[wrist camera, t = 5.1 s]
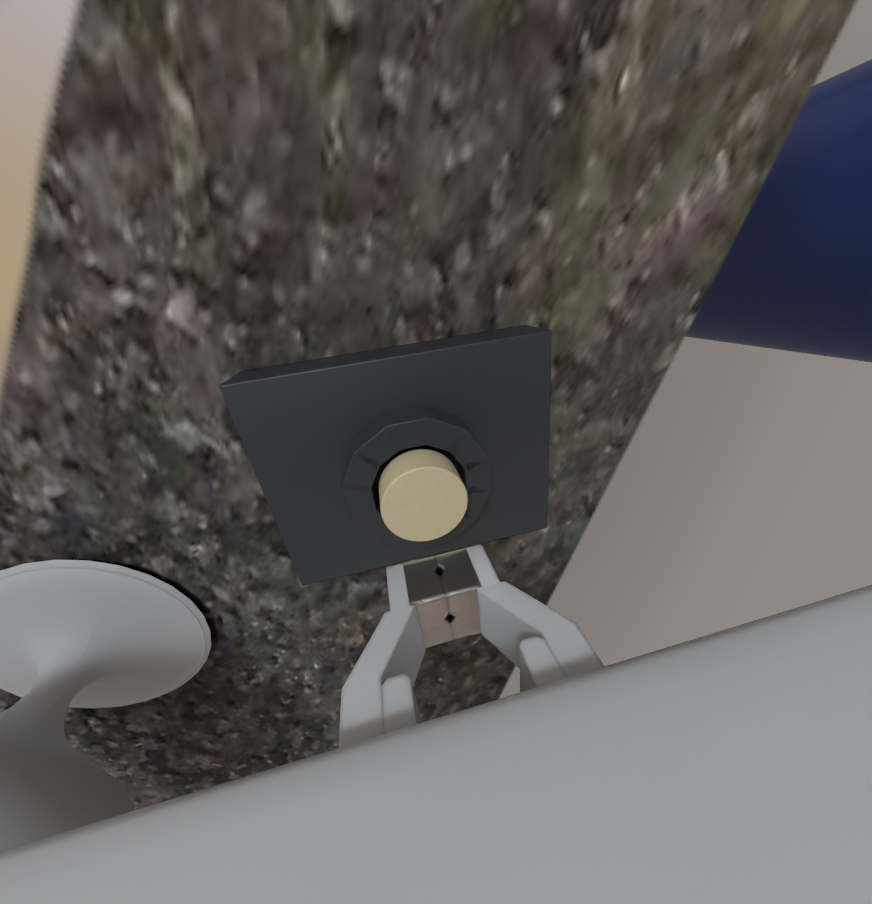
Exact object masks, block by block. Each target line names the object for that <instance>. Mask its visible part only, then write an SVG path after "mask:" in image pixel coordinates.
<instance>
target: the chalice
mask: <svg viewBox="0 0 872 904" xmlns="http://www.w3.org/2000/svg"><path fill="white" fill-rule="evenodd" d="M210 648H211V634H210V629H209V626H208V624H207V622H206V620H205V617H204V615H203V614H202V613H201V611H200V610H199V609H198V608H197V607H196V606H195V604H194V603H193V602H192V601H191V600H190V599H189V598H187V597H186V596H185V595H183V594H182V593H181V592H179V591H178V590H177V589H175V588H174V587H173V586H171V585H169V584H167V583H165V582H163V581H161V580H159V579H157V578H155V577H153V576H151V575H149V574H146V573H142V572H139V571H136V570H133V569H130V568H127V567H123V566H120V565H114V564H108V563H102V562H96V561H89V560H49V561H41V562H33V563H25V564H21V565H18V566H15V567H11V568H8V569H5V570H1V571H0V688H1V689H3V690H5V691H8V692H10V693H12V694H14V695H17V696H20V697H23V698H22V699H21V700H19V701H18V702H17V703H16V704H15V705H13V706H12V707H11V708H9V709H7V710H5V711H3V712H2V713H0V851H3V850H7V849H10V848H13V847H16V846H20V845H23V844H26V843H30V842H33V841H36V840H39V839H43V838H46V837H49V836H52V835H56V834H59V833H62V832H66V831H69V830H72V829H75V828H79V827H82V826H85V825H88V824H92V823H95V822H98V821H102V820H105V819H108V818H111V817H115V816H118V815H121V814H124V813H128V812H131V811H134V810H135V806H134V803H133V802H132V801H131V799H130V798H129V797H128V795H127V794H126V793H125V791H124V790H123V789H122V787H121V786H120V785H119V783H118V782H117V781H116V780H115V778H114V777H113V776H112V775H110V774H109V773H107V772H106V771H105V770H103V769H102V768H101V767H99V766H98V765H97V764H95V763H94V762H93V761H91V760H90V759H89V758H87V757H86V756H84V755H82V754H81V753H79V752H78V751H77V750H75V749H74V748H72V747H71V746H70V745H69V744H68V741H67V739H66V737H65V735H64V717H65V714H66V712H67V709H68V707H73V708H107V707H120V706H125V705H130V704H135V703H141V702H144V701H147V700H150V699H153V698H156V697H159V696H162V695H164V694H167V693H169V692H170V691H172V690H174V689H176V688H178V687H180V686H182V685H184V684H185V683H186V682H187V681H189V680H190V679H191V678H192V677H193V676H195V675H196V674H197V673H198V672H199V670H200V669H201V668H202V666H203V665H204V663H205V662H206V661H207V658H208V655H209V651H210Z"/></svg>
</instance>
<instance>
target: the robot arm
mask: <svg viewBox="0 0 872 904" xmlns="http://www.w3.org/2000/svg"><path fill="white" fill-rule="evenodd" d="M403 564H404V565H403ZM386 573H387V583H388V593H389V604H390V611H388V612H385V614H384V615H383V617H382V619H381V621H380V622H379V624H378V626H377V628H376V629H375V631H374V633H373V635H372V637H371V638H370V640H369V642H368V644H367V645H366V647H365V649H364V651H363V652H362V654H361V656H360V658H359V660H358V661H357V663H356V665H355V667H354V668H353V670H352V672H351V674H350V675H349V677H348V679H347V681H346V683H345V684H344V686H343V688H342V692H341V712H340V732H339V748H337V749H334V750H331V751H327V752H324V753H321V754H318V755H314V756H311V757H308V758H305V759H301V760H298V761H295V762H291V763H288V764H285V765H282V766H278V767H275V768H272V769H269V770H265V771H262V772H259V773H255V774H252V775H249V776H246V777H242V778H239V779H236V780H233V781H229V782H226V783H223V784H220V785H216V786H213V787H210V788H206V789H203V790H200V791H197V792H193V793H190V794H187V795H183V796H180V797H177V798H174V799H170V800H167V801H164V802H161V803H157V804H154V805H151V806H147V807H144V808H141V809H138V810H134V811H131V812H128V813H124V814H121V815H118V816H115V817H111V818H108V819H105V820H102V821H98V822H95V823H92V824H88V825H85V826H82V827H79V828H75V829H72V830H69V831H66V832H62V833H59V834H56V835H52V836H49V837H46V838H43V839H39V840H36V841H33V842H30V843H26V844H23V845H20V846H16V847H13V848H10V849H7V850H3V851H0V904H872V585H870V586H867V587H863V588H860V589H857V590H853V591H850V592H847V593H844V594H840V595H837V596H834V597H831V598H828V599H824V600H821V601H818V602H814V603H811V604H808V605H805V606H801V607H798V608H795V609H792V610H788V611H785V612H782V613H778V614H775V615H772V616H769V617H765V618H762V619H759V620H755V621H752V622H749V623H746V624H742V625H739V626H736V627H733V628H729V629H726V630H723V631H720V632H716V633H713V634H710V635H706V636H703V637H700V638H697V639H693V640H691V641H687V642H684V643H680V644H677V645H674V646H671V647H667V648H664V649H661V650H657V651H654V652H651V653H648V654H644V655H641V656H638V657H635V658H631V659H628V660H625V661H621V662H618V663H615V664H612V665H608V666H605V667H604V665H603V664H602V662H601V661H600V659H599V658H598V656H597V654H596V653H595V651H594V650H593V648H592V647H591V645H590V644H589V642H588V641H587V639H586V638H585V636H584V635H583V633H582V632H581V630H580V629H579V627H578V625H577V624H576V623H575V622H573V621H571V620H570V619H568V618H566V617H565V616H563V615H561V614H560V613H558V612H556V611H554V610H553V609H551V608H549V607H548V606H546V605H544V604H543V603H541V602H539V601H538V600H536V599H534V598H533V597H531V596H529V595H528V594H526V593H524V592H523V591H521V590H519V589H517V588H516V587H514V586H512V585H511V584H509V583H507V582H506V581H503V582H500V581H499V579H498V577H497V575H496V573H495V571H494V568H493V566H492V564H491V562H490V560H489V558H488V556H487V554H486V552H485V550H484V548H483V546H482V545H481V544H478V545H474V546H471V547H467V548H465V549H464V548H463V549H460V550H456V551H452V552H448V553H444V554H440V555H436V556H432V557H428V558H423V559H418V560H414V561H409V562H405V563H402V564H397V565H393V566H388V567H387V570H386ZM479 633H482V635H483V636H484V637H485V638H486V639H487V640H488V641H490V642H491V643H492V644H493V645H494V646H495V647H496V648H497V649H498V650H499V651H501V652H502V653H503V654H504V655H505V656H506V657H507V658H508V659H509V660H511V661H512V662H513V663H514V664H515V665H516V666H517V667H518V668H519V669H520V693H517V694H514V695H511V696H508V697H504V698H501V699H498V700H494V701H491V702H488V703H484V704H481V705H478V706H475V707H471V708H468V709H465V710H462V711H458V712H455V713H452V714H448V715H445V716H442V717H439V718H435V719H432V720H429V721H426V722H422V721H421V717H420V713H419V709H418V706H417V702H416V698H415V694H414V690H413V686H414V683H415V680H416V677H417V674H418V671H419V668H420V665H421V662H422V659H423V656H424V653H425V648H428V647H431V646H435V645H438V644H441V643H444V642H448V641H451V640H454V639H458V638H462V637H466V636H470V635H474V634H479Z"/></svg>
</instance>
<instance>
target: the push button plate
mask: <svg viewBox="0 0 872 904" xmlns="http://www.w3.org/2000/svg"><path fill="white" fill-rule="evenodd" d="M550 375H551V330H547V329H542V328H537V327H532V326H527V325H523V326H517V327H511V328H505V329H498V330H492V331H486V332H480V333H474V334H468V335H462V336H455V337H449V338H443V339H437V340H431V341H425V342H419V343H412V344H406V345H400V346H394V347H388V348H382V349H376V350H370V351H363V352H357V353H351V354H345V355H339V356H333V357H327V358H320V359H314V360H308V361H302V362H296V363H290V364H284V365H278V366H271V367H265V368H259V369H253V370H247V371H241V372H239V373H238V374H236V375H235V376H233V377H232V378H230V379H229V380H227V381H226V382H224V383H223V384H221V385H220V386H219V388H220V390H221V392H222V395H223V397H224V400H225V402H226V404H227V407H228V409H229V412H230V414H231V416H232V419H233V421H234V423H235V426H236V428H237V431H238V433H239V435H240V438H241V440H242V442H243V445H244V447H245V450H246V452H247V454H248V457H249V459H250V462H251V464H252V466H253V469H254V471H255V473H256V476H257V478H258V481H259V483H260V485H261V488H262V490H263V492H264V495H265V497H266V500H267V502H268V504H269V507H270V509H271V512H272V514H273V516H274V519H275V521H276V523H277V526H278V528H279V531H280V533H281V535H282V538H283V540H284V542H285V545H286V547H287V550H288V552H289V554H290V557H291V559H292V562H293V564H294V566H295V569H296V571H297V573H298V576H299V578H300V581H301V583H302V585H307V584H311V583H316V582H320V581H324V580H328V579H332V578H337V577H341V576H345V575H349V574H353V573H358V572H362V571H366V570H370V569H374V568H379V567H383V566H387V565H391V564H395V563H400V562H404V561H408V560H412V559H416V558H421V557H425V556H429V555H433V554H437V553H442V552H446V551H450V550H454V549H458V548H463V547H467V546H471V545H475V544H479V543H484V542H488V541H492V540H496V539H500V538H505V537H509V536H513V535H517V534H521V533H526V532H530V531H534V530H538V529H542V528H546V527H547V508H548V463H549V419H550ZM417 449H426V450H432V451H436V452H438V453H441V454H442V455H444V456H446V457H447V458H448V459H449V460H450V461H451V462H452V463H453V465H454V466H455V468H456V470H457V472H458V474H459V476H460V478H461V480H462V482H463V483H464V485H465V487H466V490H467V495H468V504H467V509H466V512H465V514H464V516H463V518H462V520H461V521H460V523H459V524H458V525H457V526H456V527H455V528H454V529H453V530H452V531H450V532H449V533H447V534H446V535H444V536H442V537H439V538H437V539H434V540H430V541H421V542H419V541H410V540H406V539H403V538H401V537H399V536H397V535H395V534H394V533H393V532H391V531H390V530H389V529H388V527H387V526H386V525H385V523H384V521H383V519H382V516H381V510H380V498H379V481H380V477H381V475H382V472H383V471H384V469H385V468H386V466H387V465H388V464H389V463H390V462H391V461H392V460H393V459H394V458H396V457H397V456H399V455H401V454H403V453H405V452H408V451H412V450H417Z"/></svg>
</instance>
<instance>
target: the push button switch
mask: <svg viewBox="0 0 872 904" xmlns="http://www.w3.org/2000/svg"><path fill="white" fill-rule="evenodd" d="M379 498H380V510H381V516H382V519H383V521H384V523H385V525H386V526H387V527H388V529H389V530H390V531H391V532H393V533H394V534H395V535H397V536H399V537H401V538H403V539H406V540H410V541H419V542H421V541H430V540H434V539H437V538H439V537H442V536H444V535H446V534H447V533H449V532H450V531H452V530H453V529H454V528H455V527H456V526H457V525H458V524H459V523H460V521H461V520H462V518H463V516H464V514H465V512H466V509H467V504H468V495H467V490H466V487H465V485H464V483H463V482H462V480H461V478H460V476H459V474H458V472H457V470H456V468H455V466H454V465H453V463H452V462H451V461H450V460H449V459H448V458H447V457H446V456H444V455H442V454H441V453H438V452H436V451H432V450H426V449H417V450H412V451H408V452H405V453H403V454H401V455H399V456H397V457H396V458H394V459H393V460H392V461H391V462H390V463H389V464H388V465H387V466H386V468H385V469H384V471H383V472H382V475H381V477H380V481H379Z"/></svg>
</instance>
